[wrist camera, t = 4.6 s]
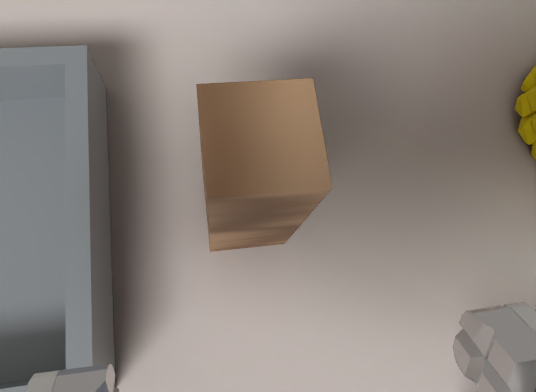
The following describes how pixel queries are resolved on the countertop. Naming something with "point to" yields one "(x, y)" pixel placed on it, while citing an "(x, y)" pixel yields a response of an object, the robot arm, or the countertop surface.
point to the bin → (53, 214)
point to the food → (528, 111)
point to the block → (260, 160)
